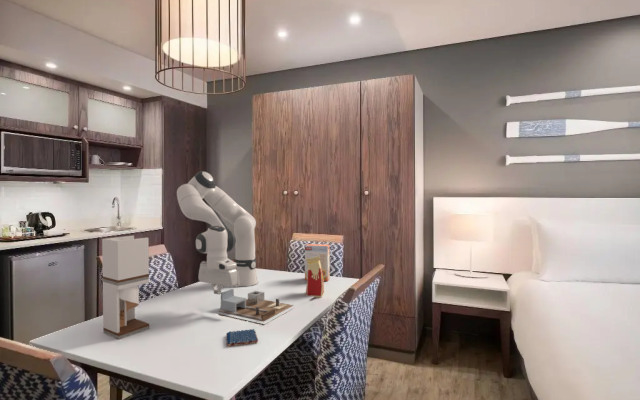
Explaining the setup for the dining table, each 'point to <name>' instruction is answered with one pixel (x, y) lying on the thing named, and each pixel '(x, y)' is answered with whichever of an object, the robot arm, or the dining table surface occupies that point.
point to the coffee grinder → (123, 284)
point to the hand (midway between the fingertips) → (217, 293)
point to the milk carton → (315, 278)
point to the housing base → (259, 310)
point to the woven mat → (241, 337)
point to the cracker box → (324, 254)
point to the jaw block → (255, 297)
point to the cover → (231, 301)
